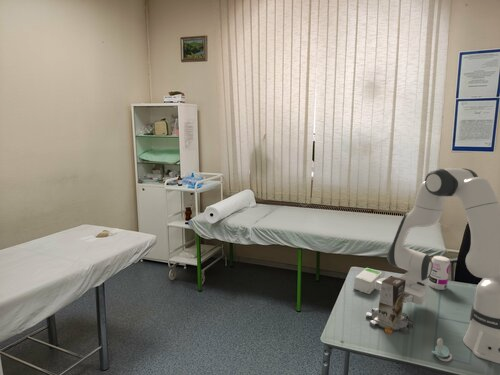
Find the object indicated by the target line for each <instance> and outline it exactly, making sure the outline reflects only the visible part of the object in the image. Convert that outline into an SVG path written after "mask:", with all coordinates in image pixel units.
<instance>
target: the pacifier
mask: <svg viewBox="0 0 500 375" xmlns="http://www.w3.org/2000/svg"><path fill="white" fill-rule="evenodd" d="M436 344H437V345H436V346H435V347H434V350H431V354H433V355H435V356H436V358H438V359H439V361H443V362H450V361H452V359H453V355H452V354H451V352H450V350H449V348H448V347H447V346H446V345H444V340H443V338H441V337H440V338H438V339H437V341H436ZM447 357H448V358H447Z"/></svg>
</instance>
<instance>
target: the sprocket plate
mask: <svg viewBox="0 0 500 375" xmlns="http://www.w3.org/2000/svg"><path fill="white" fill-rule="evenodd" d="M378 310H379V307H372V308H371V312H369V311H368V312H366V315H365V316H366V317H365V319H368V320H369V326H371V327H372V328H380V329H382V330H384V333H385V334H390V335H391V334H393V332H399V333H401V334H402V335H406V334H409V333H410V329H414V324H415V323H414V321H411V320H409V318H410V317H409V315H408V314H406V313H405V312H402V317H400V318H399V319H398V320H397V321H395V322H394V323H393V324H390V323H387V322H385V321H383V320H380V319H378ZM409 328H410V329H409Z"/></svg>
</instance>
